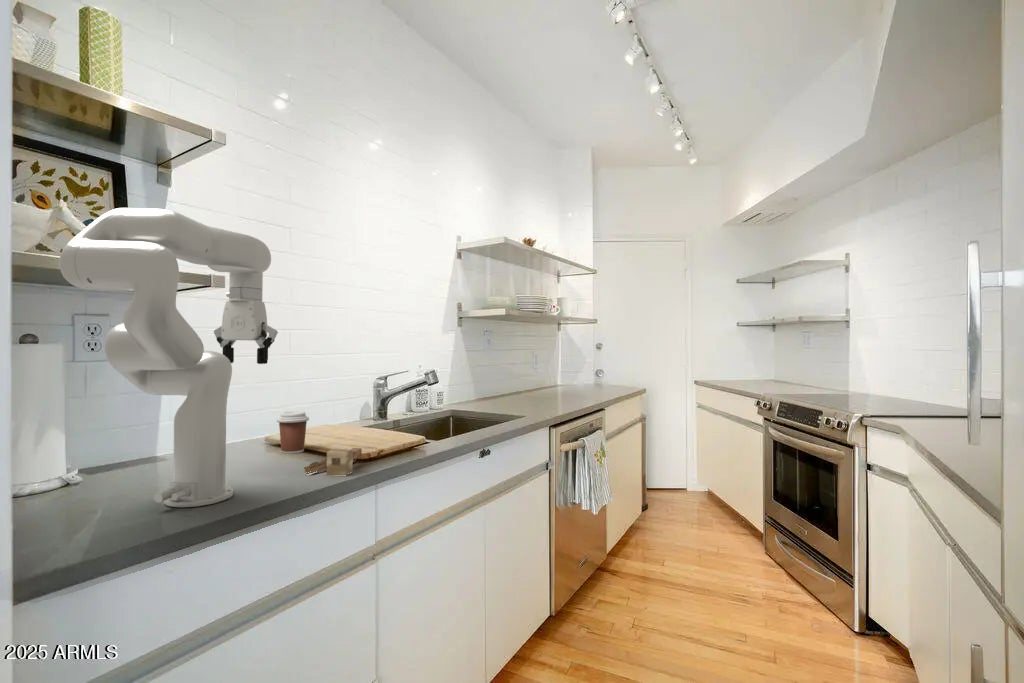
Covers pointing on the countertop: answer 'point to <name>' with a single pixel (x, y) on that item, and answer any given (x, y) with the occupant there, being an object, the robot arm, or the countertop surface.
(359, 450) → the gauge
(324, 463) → the wooden fragment
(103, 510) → the countertop surface
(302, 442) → the coffee cup
